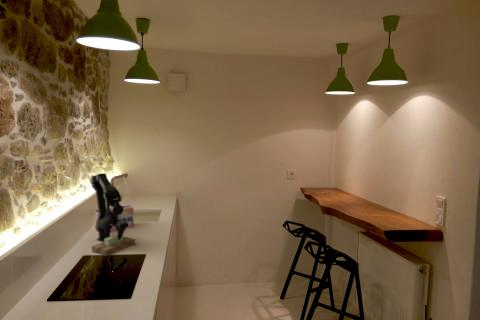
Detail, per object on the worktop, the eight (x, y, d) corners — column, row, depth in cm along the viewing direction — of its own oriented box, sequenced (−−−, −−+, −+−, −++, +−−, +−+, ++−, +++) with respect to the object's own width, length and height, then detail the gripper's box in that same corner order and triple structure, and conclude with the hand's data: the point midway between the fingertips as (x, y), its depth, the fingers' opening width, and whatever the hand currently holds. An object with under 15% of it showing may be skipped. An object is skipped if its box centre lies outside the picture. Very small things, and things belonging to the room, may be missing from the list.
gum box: (132, 223, 240) (131, 204, 238) (136, 226, 233) (135, 207, 232) (96, 230, 226) (94, 210, 225) (98, 233, 220) (97, 213, 218)
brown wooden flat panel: (92, 251, 189) (91, 246, 189) (120, 240, 206) (120, 235, 206) (106, 255, 183) (106, 250, 183) (135, 243, 201) (135, 238, 200)
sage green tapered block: (104, 250, 192) (104, 238, 191) (119, 244, 200) (118, 233, 199) (109, 251, 190) (108, 239, 189) (123, 245, 198) (122, 234, 198)
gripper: (88, 212, 190) (90, 240, 192) (111, 217, 181) (113, 245, 183) (105, 208, 200) (107, 234, 201) (128, 212, 190) (129, 239, 192)
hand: (113, 238), depth 194 cm, fingers open, 9 cm apart
